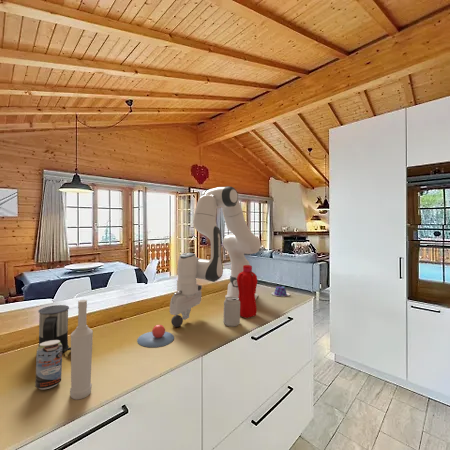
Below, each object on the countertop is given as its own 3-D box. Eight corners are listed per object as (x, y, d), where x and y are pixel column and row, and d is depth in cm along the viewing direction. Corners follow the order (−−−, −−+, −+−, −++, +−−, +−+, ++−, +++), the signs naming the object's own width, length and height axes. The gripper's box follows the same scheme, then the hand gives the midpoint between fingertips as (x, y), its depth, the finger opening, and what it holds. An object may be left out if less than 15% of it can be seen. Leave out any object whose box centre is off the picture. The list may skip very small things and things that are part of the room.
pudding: (293, 297, 170) (293, 288, 170) (276, 298, 166) (276, 289, 166) (283, 291, 182) (284, 284, 181) (267, 292, 178) (268, 285, 178)
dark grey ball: (168, 318, 116) (169, 328, 117) (177, 320, 114) (178, 330, 115) (175, 312, 120) (177, 321, 121) (184, 313, 118) (185, 324, 119)
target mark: (154, 328, 115) (154, 328, 115) (181, 336, 108) (181, 335, 108) (129, 341, 102) (129, 341, 102) (157, 350, 96) (157, 350, 96)
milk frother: (36, 349, 95) (36, 307, 94) (85, 337, 105) (85, 299, 105) (40, 366, 84) (41, 320, 83) (95, 352, 94) (95, 310, 94)
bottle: (66, 395, 71) (67, 301, 70) (85, 385, 75) (86, 296, 75) (76, 402, 68) (77, 305, 68) (95, 392, 72) (97, 300, 72)
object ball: (150, 324, 106) (148, 337, 105) (160, 327, 103) (158, 340, 103) (158, 322, 110) (157, 335, 109) (168, 324, 108) (166, 337, 107)
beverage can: (35, 396, 70) (35, 351, 70) (35, 382, 76) (35, 340, 76) (63, 388, 74) (63, 345, 74) (60, 375, 80) (61, 335, 80)
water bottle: (247, 320, 127) (249, 268, 126) (233, 313, 136) (234, 264, 135) (261, 317, 132) (263, 266, 132) (247, 310, 141) (248, 263, 141)
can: (238, 328, 118) (239, 301, 118) (221, 326, 119) (222, 299, 119) (240, 321, 125) (241, 296, 125) (225, 320, 127) (225, 295, 127)
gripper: (178, 295, 112) (177, 328, 112) (203, 285, 130) (203, 313, 130) (166, 292, 115) (165, 324, 115) (193, 283, 133) (192, 311, 133)
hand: (185, 318), depth 123 cm, fingers closed
